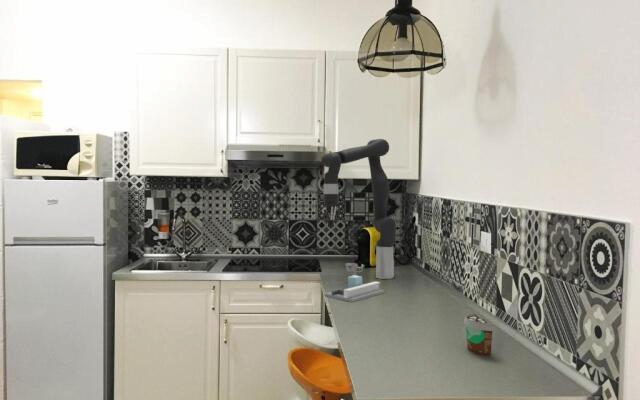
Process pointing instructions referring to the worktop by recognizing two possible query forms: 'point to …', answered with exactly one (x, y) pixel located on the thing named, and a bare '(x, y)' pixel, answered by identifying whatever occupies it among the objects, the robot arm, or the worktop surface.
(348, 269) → the mechanical component
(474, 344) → the food container
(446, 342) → the worktop surface
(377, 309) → the worktop surface
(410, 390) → the worktop surface
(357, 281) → the block
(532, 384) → the worktop surface
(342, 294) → the rail mount
